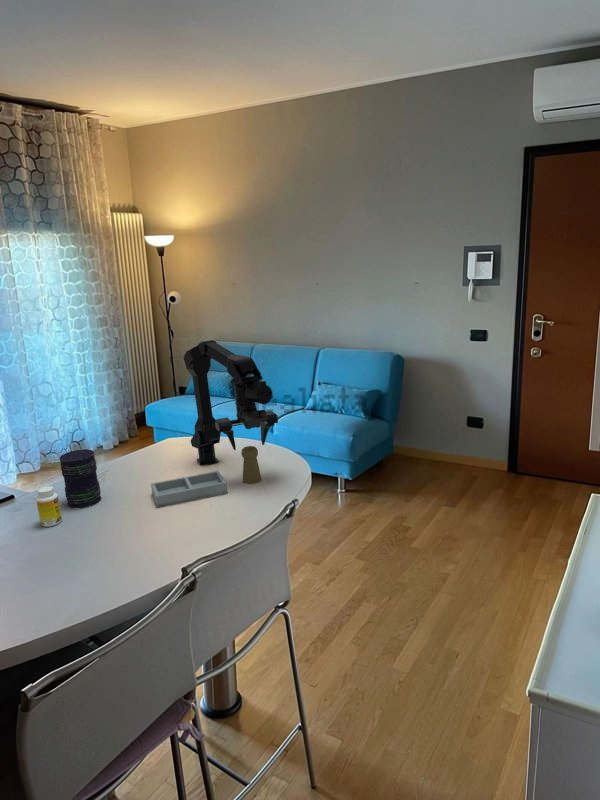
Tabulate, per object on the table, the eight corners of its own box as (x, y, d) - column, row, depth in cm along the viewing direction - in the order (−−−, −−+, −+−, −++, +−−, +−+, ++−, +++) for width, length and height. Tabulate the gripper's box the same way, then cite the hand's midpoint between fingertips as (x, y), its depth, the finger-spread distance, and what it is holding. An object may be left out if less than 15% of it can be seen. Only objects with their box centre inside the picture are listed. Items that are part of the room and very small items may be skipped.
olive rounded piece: (262, 476, 187) (260, 443, 184) (259, 483, 181) (257, 450, 178) (244, 476, 187) (241, 444, 185) (240, 484, 182) (237, 450, 179)
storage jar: (59, 505, 174) (51, 458, 170) (85, 493, 182) (78, 447, 178) (83, 510, 169) (75, 462, 165) (108, 497, 177) (101, 451, 174)
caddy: (152, 494, 178) (150, 483, 177) (219, 480, 185) (218, 470, 184) (157, 507, 168) (155, 496, 167) (227, 493, 175) (226, 482, 174)
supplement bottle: (60, 525, 160) (54, 491, 158) (39, 529, 159) (32, 494, 157) (63, 517, 166) (57, 483, 163) (42, 520, 164) (36, 486, 162)
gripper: (221, 409, 167) (226, 460, 171) (282, 400, 173) (285, 449, 177) (212, 401, 177) (217, 449, 181) (270, 392, 183) (274, 439, 187)
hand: (248, 447), depth 181 cm, fingers open, 9 cm apart
